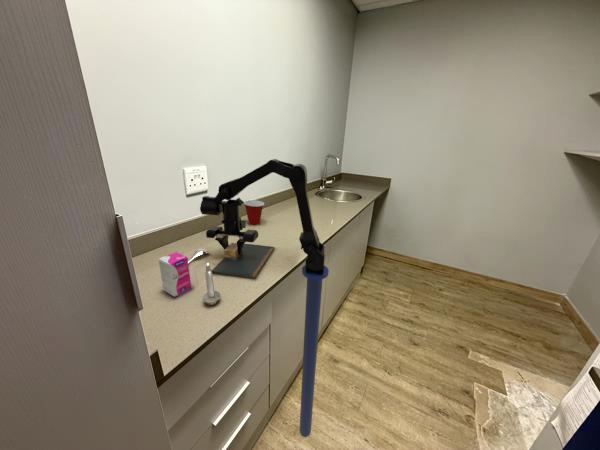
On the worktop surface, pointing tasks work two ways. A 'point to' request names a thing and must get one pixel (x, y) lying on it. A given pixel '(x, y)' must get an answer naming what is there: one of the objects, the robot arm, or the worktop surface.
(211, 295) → the screw
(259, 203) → the plastic cup
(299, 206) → the robot arm
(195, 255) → the metal serving spoon
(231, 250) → the wooden block
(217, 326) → the worktop surface
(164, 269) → the supplement box
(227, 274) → the chalkboard
